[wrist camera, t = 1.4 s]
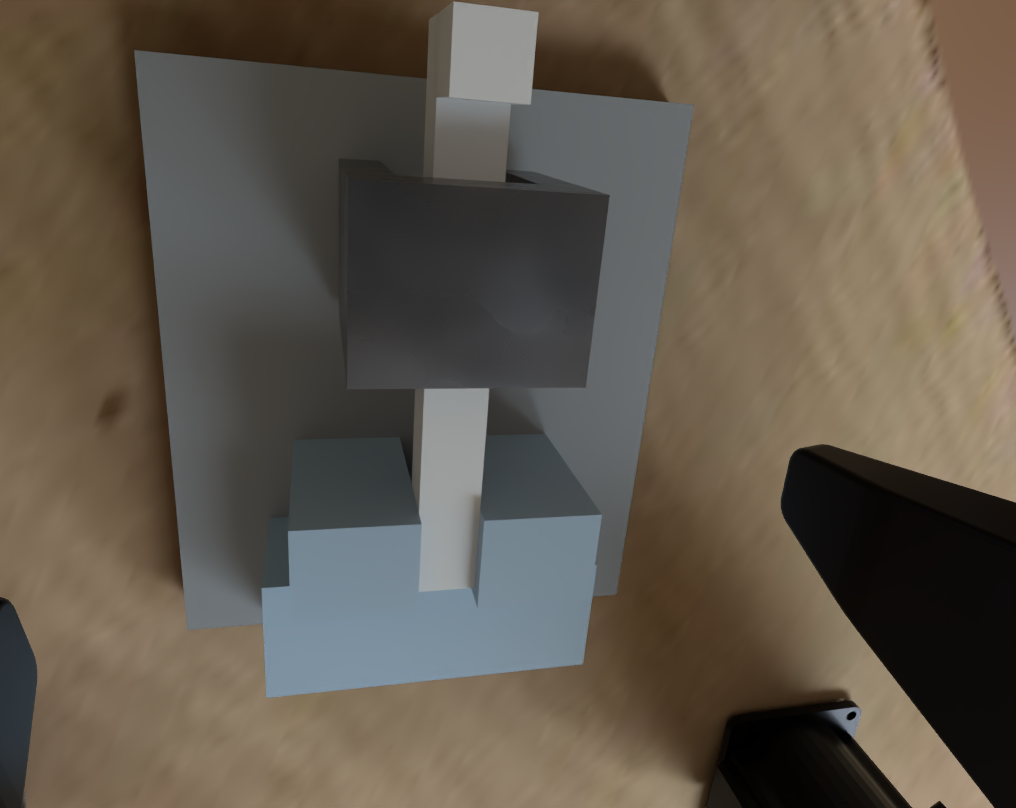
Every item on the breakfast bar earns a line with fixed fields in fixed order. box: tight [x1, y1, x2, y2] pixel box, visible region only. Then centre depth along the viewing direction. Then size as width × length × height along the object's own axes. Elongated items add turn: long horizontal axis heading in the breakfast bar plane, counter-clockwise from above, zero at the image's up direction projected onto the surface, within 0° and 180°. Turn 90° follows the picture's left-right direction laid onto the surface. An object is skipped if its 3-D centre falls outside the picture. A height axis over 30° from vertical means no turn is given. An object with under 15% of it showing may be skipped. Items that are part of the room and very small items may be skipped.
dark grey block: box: [339, 158, 610, 389], centre depth 17 cm, size 5×4×6 cm
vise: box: [134, 2, 694, 698], centre depth 19 cm, size 14×17×8 cm
